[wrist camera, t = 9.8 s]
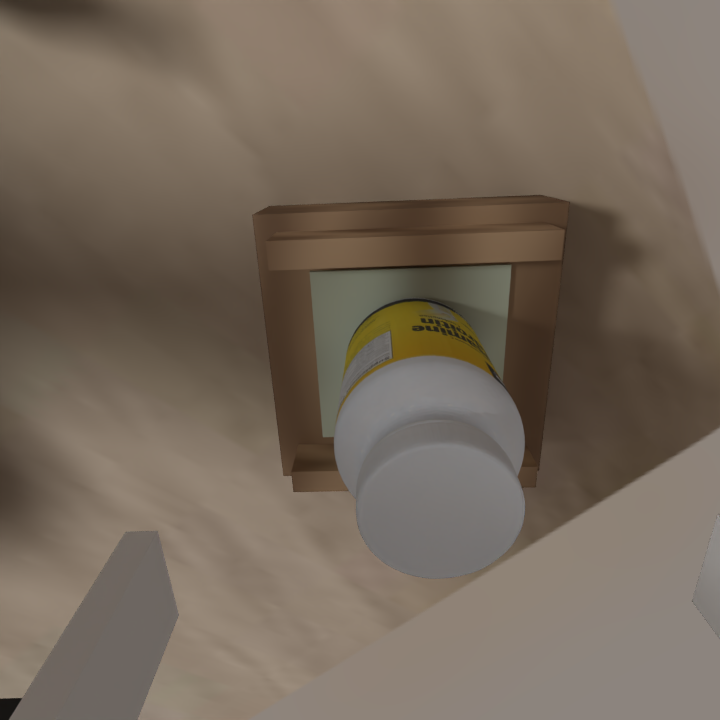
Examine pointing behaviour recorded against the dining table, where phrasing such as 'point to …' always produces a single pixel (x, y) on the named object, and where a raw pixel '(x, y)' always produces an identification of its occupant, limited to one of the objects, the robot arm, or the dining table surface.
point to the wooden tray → (399, 281)
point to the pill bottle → (428, 442)
